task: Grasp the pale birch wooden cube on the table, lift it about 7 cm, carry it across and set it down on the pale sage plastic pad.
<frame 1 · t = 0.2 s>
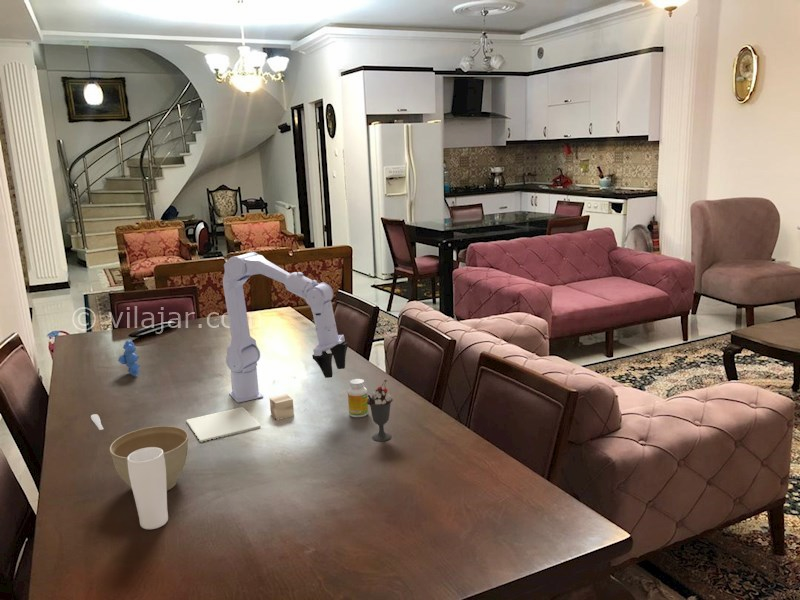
hand: (335, 372, 182), 11 cm above the table, tool pointing down, fingers open, 7 cm apart
cube: (282, 415, 180), on the table
supplement bottle: (358, 414, 179), on the table
planter bowl: (155, 486, 143), on the table
drinking glass: (154, 524, 128), on the table
grapes: (130, 375, 219), on the table
sundae: (381, 437, 164), on the table
pad: (222, 424, 175), on the table
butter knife: (103, 431, 175), on the table
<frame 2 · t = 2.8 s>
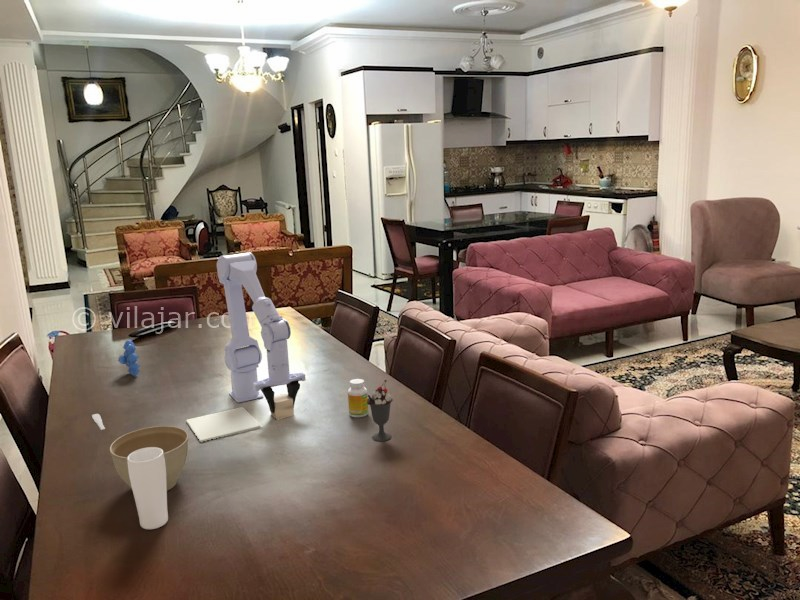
hand: (282, 409, 180), 2 cm above the table, tool pointing down, fingers closed on cube, 5 cm apart
cube: (282, 414, 180), on the table, touching gripper
everything else where it was.
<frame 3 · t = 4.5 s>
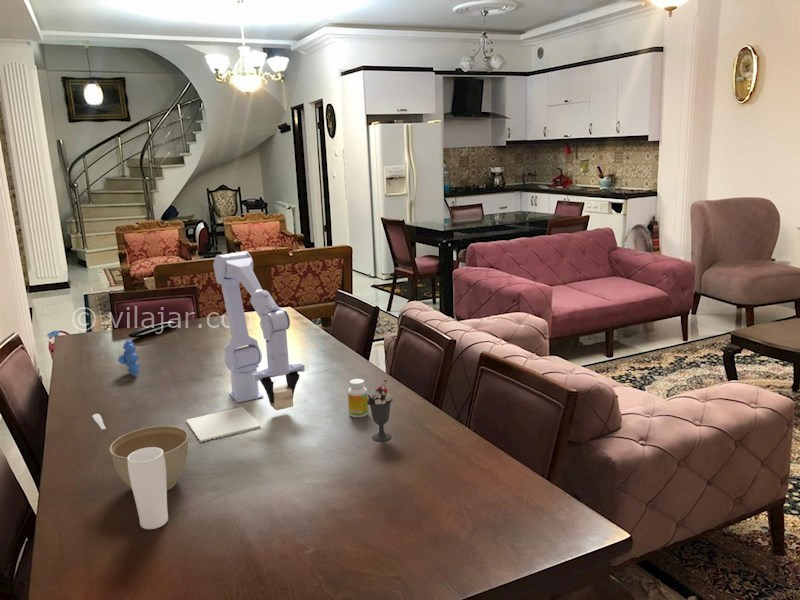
hand: (281, 400, 179), 4 cm above the table, tool pointing down, fingers closed on cube, 5 cm apart
cube: (281, 405, 180), point 3 cm above the table, touching gripper
everything else where it was.
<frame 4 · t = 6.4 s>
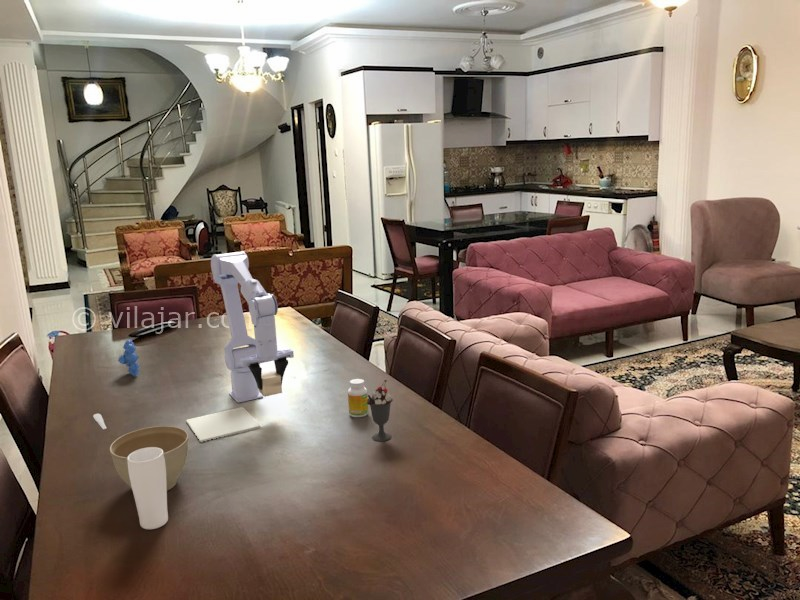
hand: (269, 386, 178), 9 cm above the table, tool pointing down, fingers closed on cube, 5 cm apart
cube: (270, 392, 178), point 7 cm above the table, touching gripper
everything else where it was.
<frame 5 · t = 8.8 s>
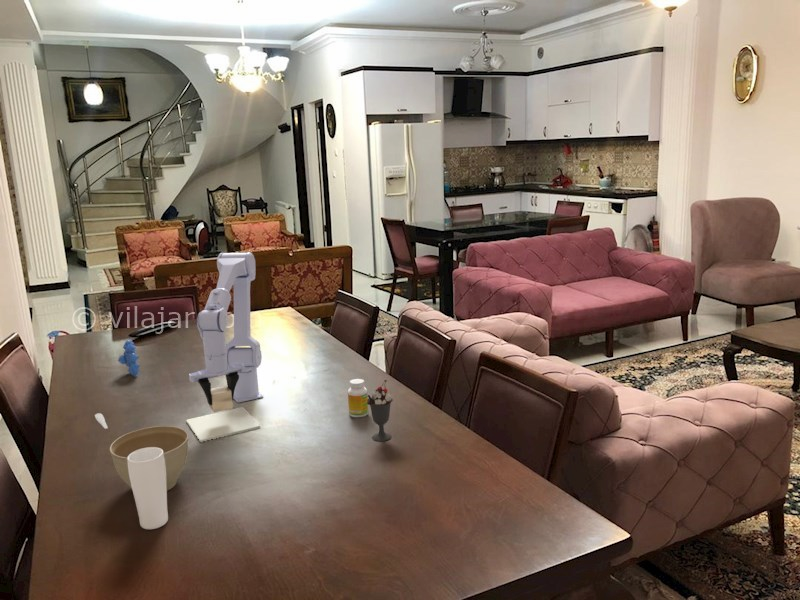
hand: (220, 401, 174), 7 cm above the table, tool pointing down, fingers closed on cube, 5 cm apart
cube: (221, 407, 174), point 5 cm above the table, touching gripper
when the fingers open (3 cm above the table, at t = 10.4 s): cube stays where it is, resting on pad.
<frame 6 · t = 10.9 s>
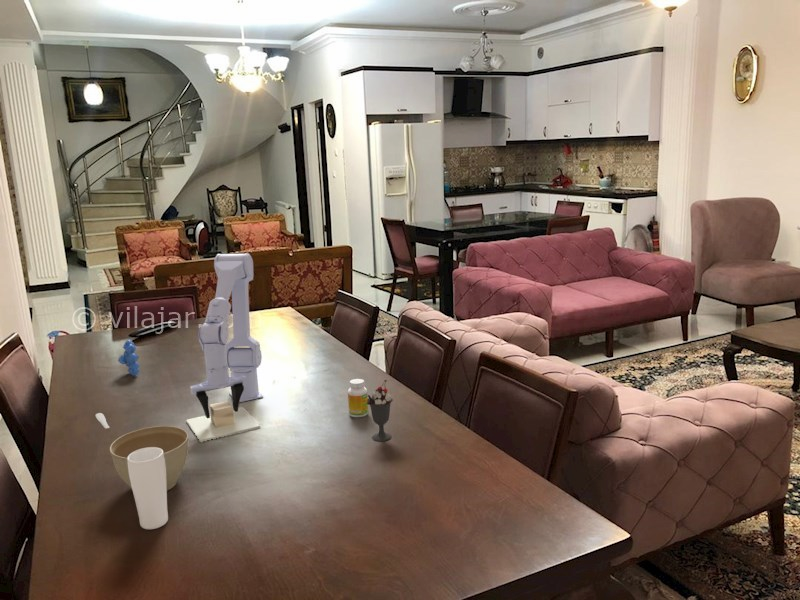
hand: (221, 413, 174), 3 cm above the table, tool pointing down, fingers open, 7 cm apart
cube: (222, 422, 175), point 1 cm above the table, touching pad
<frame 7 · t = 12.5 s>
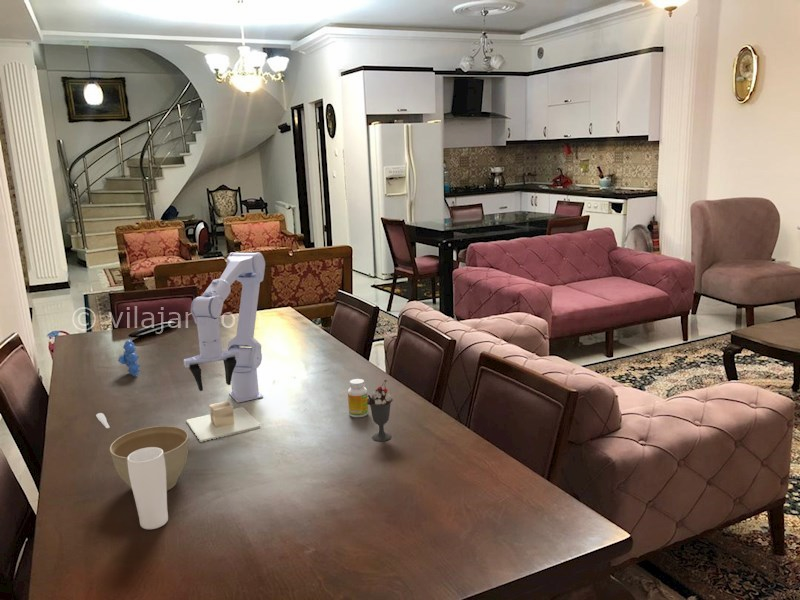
hand: (214, 386, 177), 9 cm above the table, tool pointing down, fingers open, 7 cm apart
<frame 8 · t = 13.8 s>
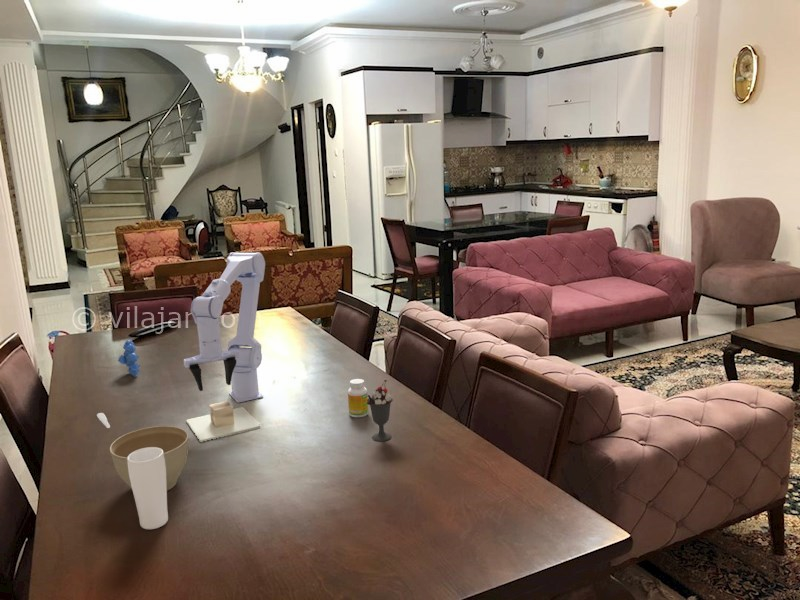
hand: (214, 386, 177), 9 cm above the table, tool pointing down, fingers open, 7 cm apart
at the end: cube inside the target area on the pad (0.0 cm from its centre), point 0.6 cm above the pad's base; cube tilted 0°; the gripper is holding nothing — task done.
